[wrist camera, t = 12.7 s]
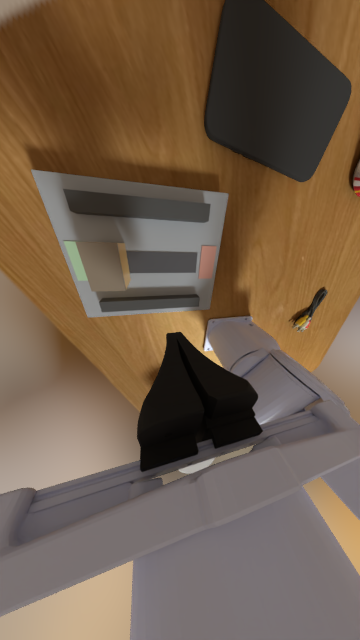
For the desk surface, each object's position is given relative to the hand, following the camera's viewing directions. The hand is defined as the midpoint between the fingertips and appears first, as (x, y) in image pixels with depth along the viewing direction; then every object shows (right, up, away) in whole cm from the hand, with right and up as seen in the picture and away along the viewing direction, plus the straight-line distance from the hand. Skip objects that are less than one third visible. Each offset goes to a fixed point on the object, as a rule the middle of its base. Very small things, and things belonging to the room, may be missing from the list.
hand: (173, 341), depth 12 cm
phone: (+10, +23, +1) cm, 26 cm away
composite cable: (+30, +4, +18) cm, 35 cm away
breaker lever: (-7, +9, +3) cm, 12 cm away
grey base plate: (-4, +10, +5) cm, 12 cm away
